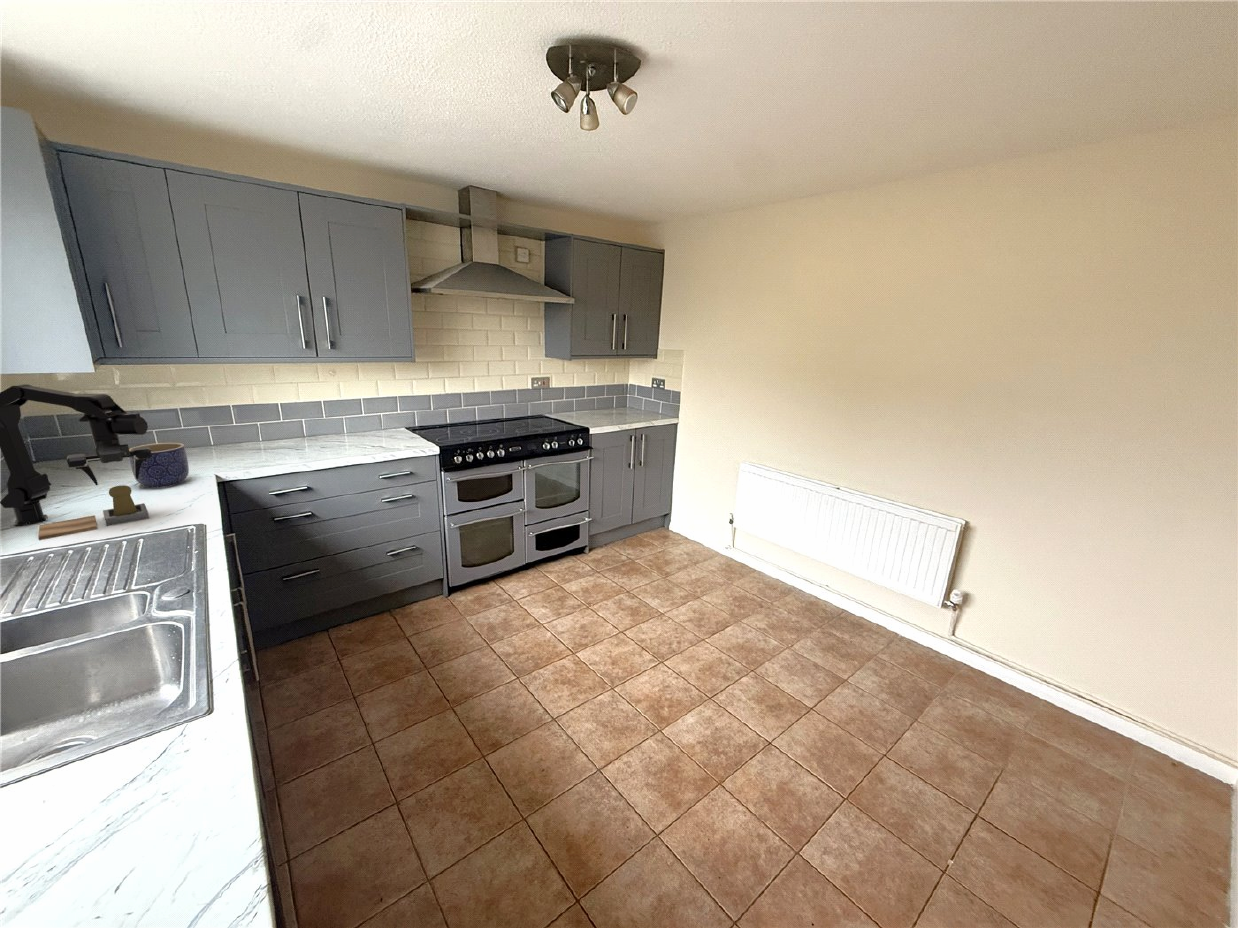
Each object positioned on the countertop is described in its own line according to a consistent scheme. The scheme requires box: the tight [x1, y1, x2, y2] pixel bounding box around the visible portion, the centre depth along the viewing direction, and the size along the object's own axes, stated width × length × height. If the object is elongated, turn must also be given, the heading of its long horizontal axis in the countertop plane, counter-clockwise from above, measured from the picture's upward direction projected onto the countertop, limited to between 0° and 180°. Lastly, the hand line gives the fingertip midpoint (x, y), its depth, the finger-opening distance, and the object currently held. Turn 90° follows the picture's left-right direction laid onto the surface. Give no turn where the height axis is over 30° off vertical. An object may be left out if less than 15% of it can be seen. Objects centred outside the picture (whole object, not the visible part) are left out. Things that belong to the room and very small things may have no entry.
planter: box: [127, 442, 190, 489], centre depth 193 cm, size 16×16×15 cm
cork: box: [108, 484, 138, 516], centre depth 161 cm, size 6×6×11 cm
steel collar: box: [102, 502, 150, 527], centre depth 162 cm, size 10×10×2 cm
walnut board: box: [37, 514, 98, 541], centre depth 153 cm, size 12×12×1 cm
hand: (117, 481), depth 159 cm, fingers open, 9 cm apart
